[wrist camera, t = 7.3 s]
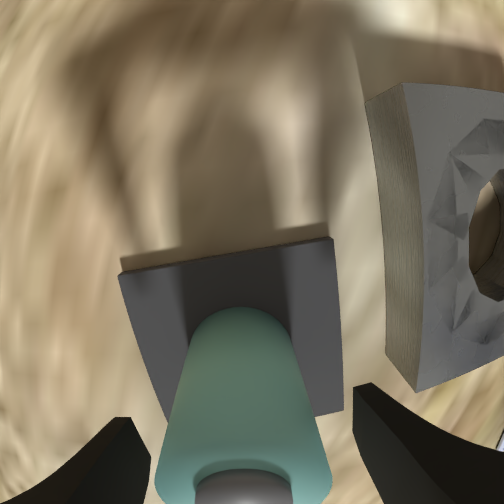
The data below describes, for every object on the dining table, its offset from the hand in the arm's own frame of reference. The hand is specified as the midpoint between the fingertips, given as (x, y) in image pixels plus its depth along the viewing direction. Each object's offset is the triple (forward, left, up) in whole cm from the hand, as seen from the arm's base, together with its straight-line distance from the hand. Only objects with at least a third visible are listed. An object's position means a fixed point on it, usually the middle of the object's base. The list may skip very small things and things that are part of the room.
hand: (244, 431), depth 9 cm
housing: (-12, -4, -5) cm, 14 cm away
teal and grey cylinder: (0, 0, -5) cm, 5 cm away
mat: (0, 0, -5) cm, 5 cm away
